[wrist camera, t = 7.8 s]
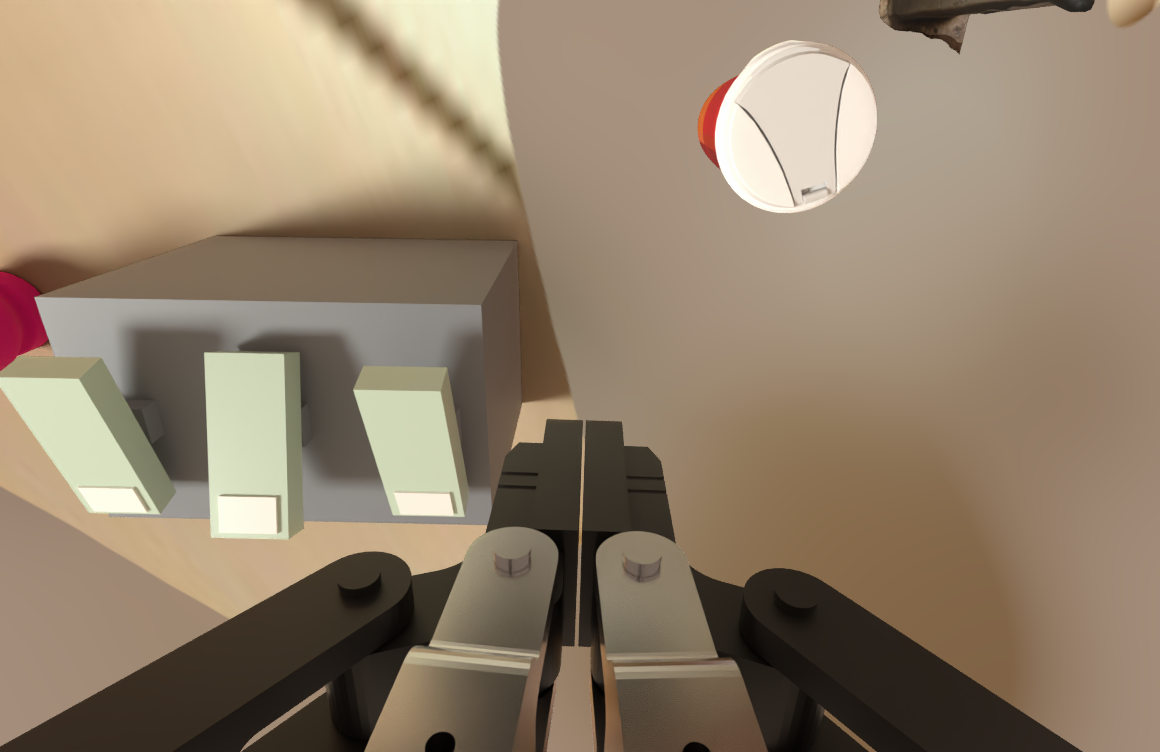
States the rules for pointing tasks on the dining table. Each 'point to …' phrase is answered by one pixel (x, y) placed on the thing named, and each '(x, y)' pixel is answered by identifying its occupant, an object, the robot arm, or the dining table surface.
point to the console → (308, 350)
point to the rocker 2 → (254, 444)
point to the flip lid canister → (791, 126)
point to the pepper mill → (18, 319)
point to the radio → (957, 14)
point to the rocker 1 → (88, 432)
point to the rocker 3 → (414, 438)
